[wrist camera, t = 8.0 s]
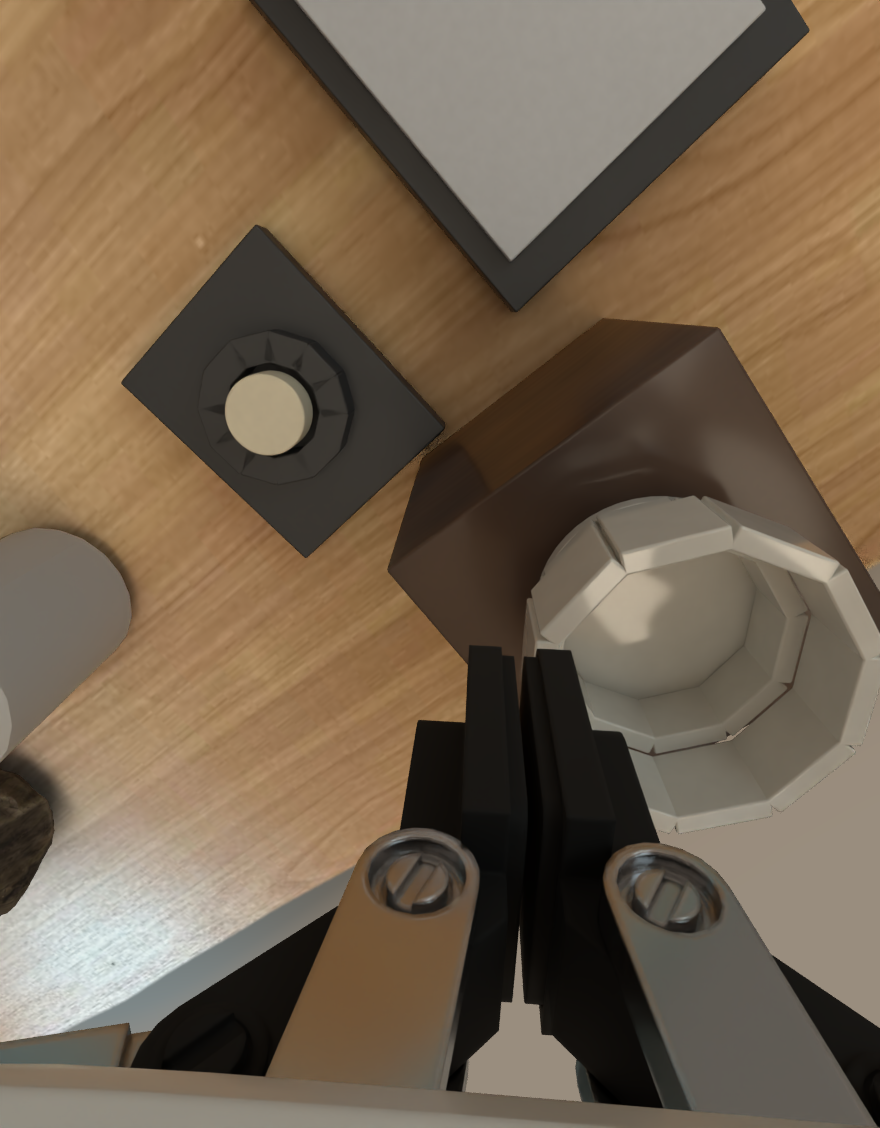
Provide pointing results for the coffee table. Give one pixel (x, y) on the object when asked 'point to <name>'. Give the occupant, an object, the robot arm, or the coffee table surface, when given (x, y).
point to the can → (53, 624)
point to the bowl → (710, 653)
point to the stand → (596, 474)
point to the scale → (532, 105)
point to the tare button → (268, 412)
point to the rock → (21, 836)
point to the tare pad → (307, 353)
